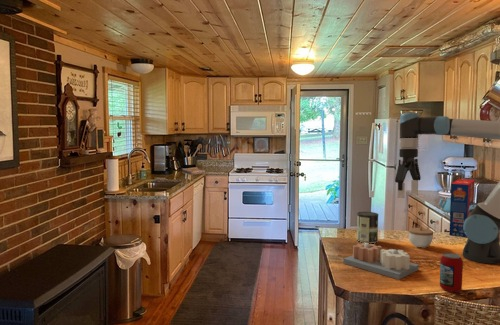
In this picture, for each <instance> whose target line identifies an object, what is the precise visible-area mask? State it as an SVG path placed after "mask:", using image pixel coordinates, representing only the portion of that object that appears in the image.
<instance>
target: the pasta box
mask: <svg viewBox="0 0 500 325" xmlns="http://www.w3.org/2000/svg"><path fill="white" fill-rule="evenodd" d="M475 181H476V180H475V179H462V178H458V179H456V180H455V181H453V182H452V183H451V184H450V185H451V186H450V199H451V205H450V213H449V231H448V232H449V236H451V237H458V238H467V239H468V237H467V236H466V235H465V233H464V230H463V224H464V221H465V219H466V218H468V216H469V211H468V210H469V207H470V205H475V202H474V201H475V199H474V198H475Z"/></svg>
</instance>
